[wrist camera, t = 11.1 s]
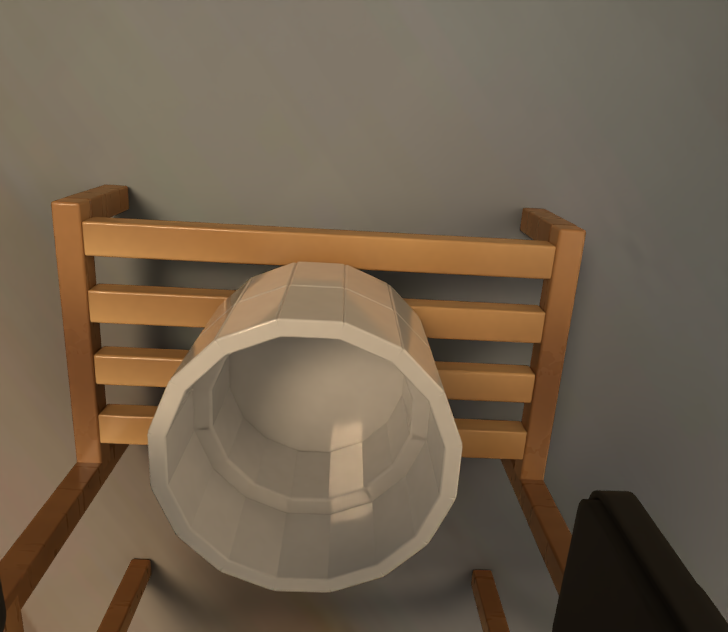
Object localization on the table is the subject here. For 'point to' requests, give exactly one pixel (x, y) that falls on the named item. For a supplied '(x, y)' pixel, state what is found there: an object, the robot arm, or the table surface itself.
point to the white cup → (307, 433)
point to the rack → (196, 306)
